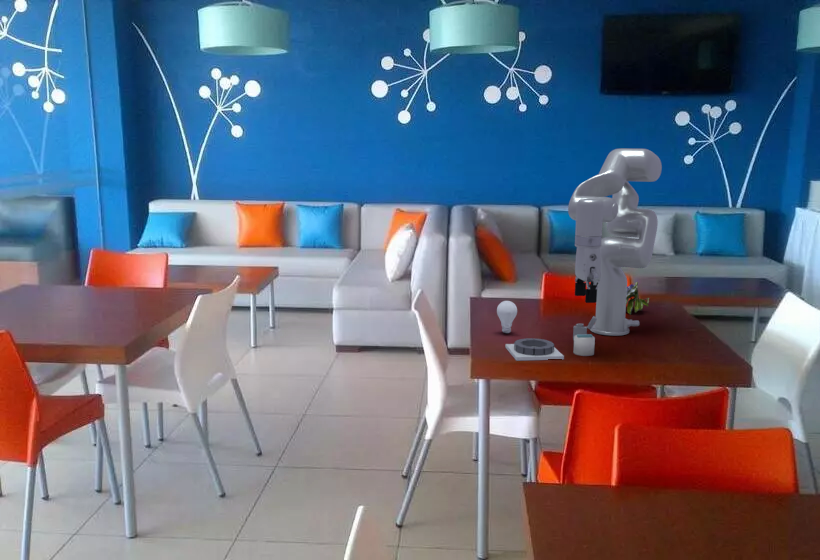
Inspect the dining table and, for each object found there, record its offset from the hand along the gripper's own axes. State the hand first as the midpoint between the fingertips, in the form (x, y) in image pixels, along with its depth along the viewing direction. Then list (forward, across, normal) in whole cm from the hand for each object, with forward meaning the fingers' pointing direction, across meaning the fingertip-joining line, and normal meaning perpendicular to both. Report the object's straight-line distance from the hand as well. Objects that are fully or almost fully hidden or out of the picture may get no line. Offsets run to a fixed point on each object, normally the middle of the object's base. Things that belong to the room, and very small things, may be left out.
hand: (585, 299), depth 216 cm
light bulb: (+17, +24, +18) cm, 34 cm away
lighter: (+17, +14, -5) cm, 22 cm away
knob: (+16, 0, 0) cm, 17 cm away
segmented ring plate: (+16, +1, +15) cm, 22 cm away
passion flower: (+16, +53, -36) cm, 66 cm away
